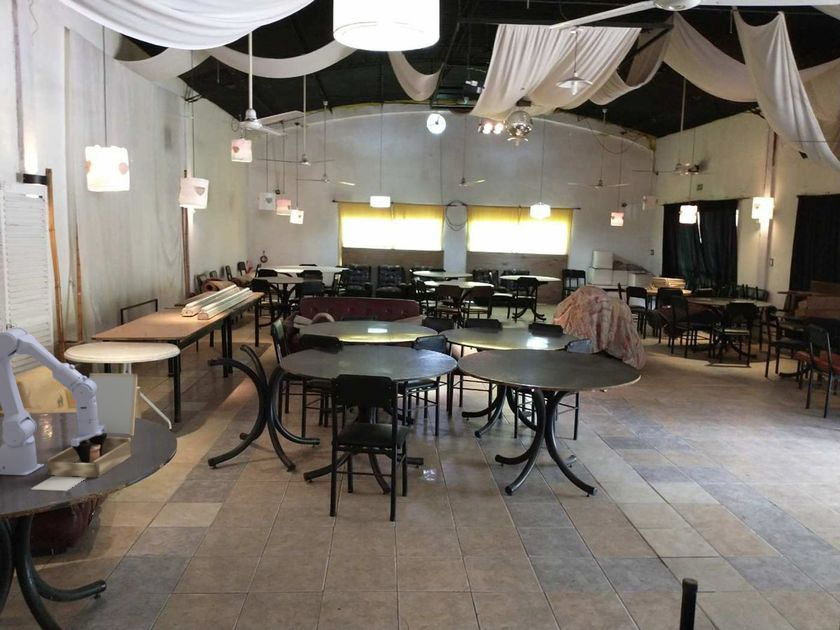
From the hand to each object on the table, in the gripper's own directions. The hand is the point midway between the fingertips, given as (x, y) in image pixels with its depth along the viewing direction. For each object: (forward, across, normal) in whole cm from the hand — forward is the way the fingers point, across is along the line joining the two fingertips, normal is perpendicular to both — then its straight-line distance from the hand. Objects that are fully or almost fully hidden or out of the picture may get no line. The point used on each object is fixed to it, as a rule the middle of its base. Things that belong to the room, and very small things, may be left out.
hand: (91, 460), depth 199 cm
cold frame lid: (-15, +12, 0) cm, 19 cm away
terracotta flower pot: (+2, 0, 0) cm, 2 cm away
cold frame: (+2, 0, 0) cm, 2 cm away
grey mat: (+2, -14, 0) cm, 15 cm away
